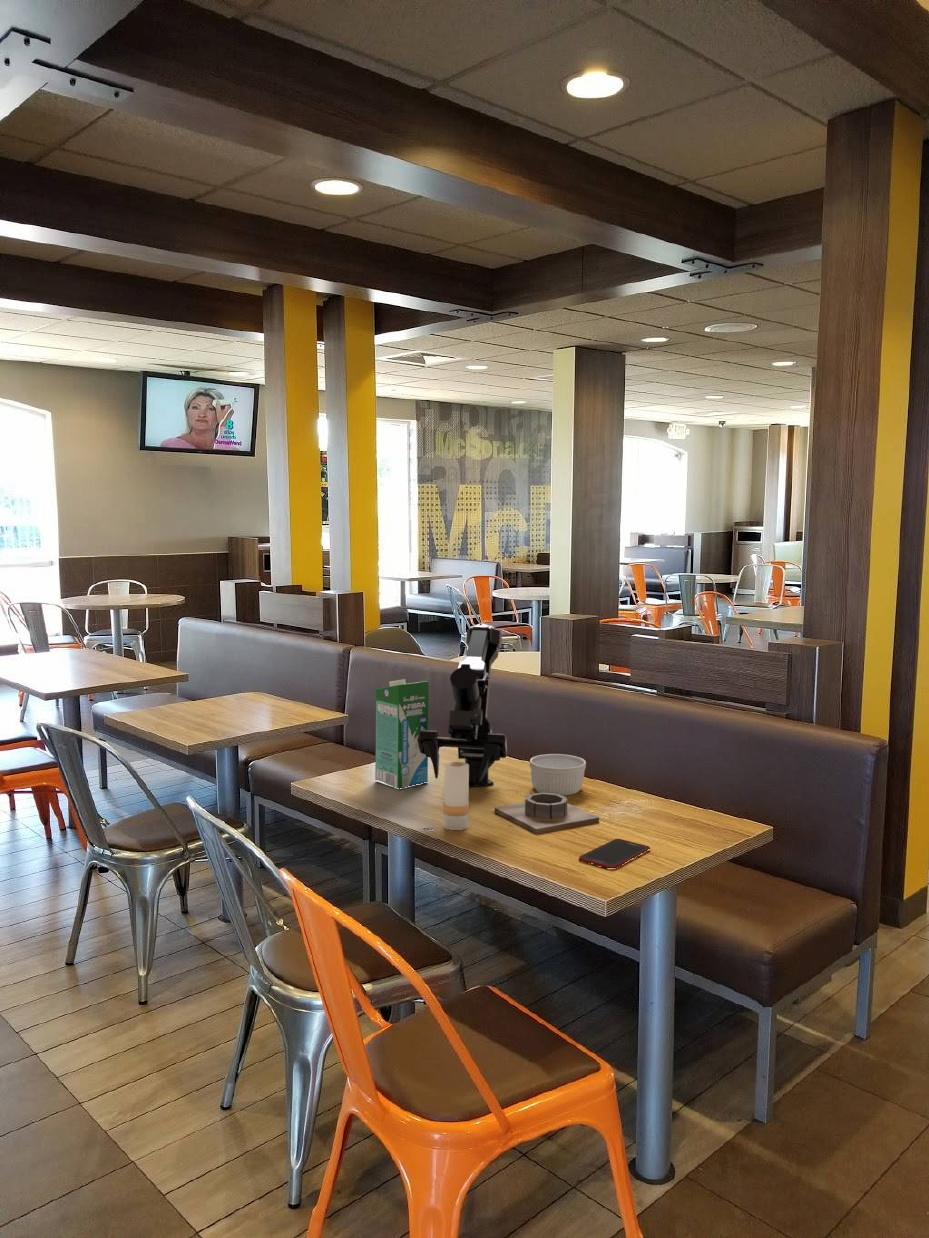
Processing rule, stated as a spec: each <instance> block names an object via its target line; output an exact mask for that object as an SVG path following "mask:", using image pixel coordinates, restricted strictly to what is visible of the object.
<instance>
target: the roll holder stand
mask: <svg viewBox="0 0 929 1238" xmlns="http://www.w3.org/2000/svg"><path fill="white" fill-rule="evenodd" d="M568 800H569V799H568V797H566V796H565V795H563V796H562V795H559V794H554V793H540V792H536V793H530V794H527V795H526V797H525V798H524V802H520V803H513V804H507V805H501V806H495V807H494V813H496V814H497V815H499V816H501V817H503V818H505V819H507V820H509V821H510V822H512V823H515V824H517V825H519V826H521V827H523V828H525V829H526V830H529V832H532V833H534V834H535V835H536V834H543V833H546V832H547V833H548V832H553V831H554V832H555V831H560V830H563V829H569V828H574V827H579V826H585V825H590V824H596V823H597V824H598V823H599V822H600V817H599V816H597V815H594V814H593V813H590V812H589V811H586V810H583V809H581V808H579V807H577V806H575V805H572V804H570V803H568Z"/></svg>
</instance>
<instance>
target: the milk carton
mask: <svg viewBox="0 0 929 1238" xmlns="http://www.w3.org/2000/svg"><path fill="white" fill-rule="evenodd" d="M388 684H389V686H385V687H380V688H375V755H374V757H375V763H374V764H375V769H374V771H375V773H374V774H375V775H374V776H375V780H379V781H382V782H384V783H386V784H388V785H391V786H393V787H396V788H399V789H400V788H405V787H408V786H412V785H416V784H421V783H424V782H428V783H429V780H428V778H429V777H428V775H429V774H428V773H429V767H428V766H429V757H426V756H425V754H422V753H420V749H419V745H418V741H417V738H418V733H419V732H420V731H421V730H429V696H430V693H429V688H430V687H429V686H430V685H429V680H425V681H418V682H409V683H406V679H405V678H404V679H397V680H391V681H389V683H388ZM375 780H374V781H375ZM405 789H406V788H405Z"/></svg>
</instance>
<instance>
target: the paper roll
mask: <svg viewBox="0 0 929 1238" xmlns="http://www.w3.org/2000/svg"><path fill="white" fill-rule="evenodd" d="M443 783H444V785H443V787H444V788H443V828H444V829H446V830H448V829H450V830H449V831H453V830H460V831H464V830H463V829H465V830H467V829H468V828H469V808H470V807H469V791H470V790H469V764H467V763H465V762H463V761H462V762H461V761H451V762H446V763H444V780H443Z"/></svg>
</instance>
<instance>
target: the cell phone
mask: <svg viewBox="0 0 929 1238" xmlns="http://www.w3.org/2000/svg"><path fill="white" fill-rule="evenodd" d="M648 849H650V850H651V847H650V846H649V845H646V844H641V843H637V842H635V841H631V840H626V839H622V838H615V839H612V840H610V841H608V842H606V843H604V844H601V845H600V846H598V847H596V848H594V849H592V850H590V851H588V852H586V853H584V854H581V855H580V856H579V857H578V861H579V860H580V861H583V862H586V863H585V864H587V863H590V864H591V863H593V864H596V865H598V866H601V867H603V868H617V867H619V866H621V865H622V864H624V863H625V862H627V861H628V860H630V859H632V858H635V857H636V856H638V855H640V854H641V853H644V852H645V851H647V850H648ZM580 861H579V862H580ZM583 862H582V863H583ZM590 864H589V865H590ZM591 865H592V864H591ZM596 865H595V866H596ZM601 867H600V868H601ZM621 867H622V866H621ZM619 868H620V867H619Z"/></svg>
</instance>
